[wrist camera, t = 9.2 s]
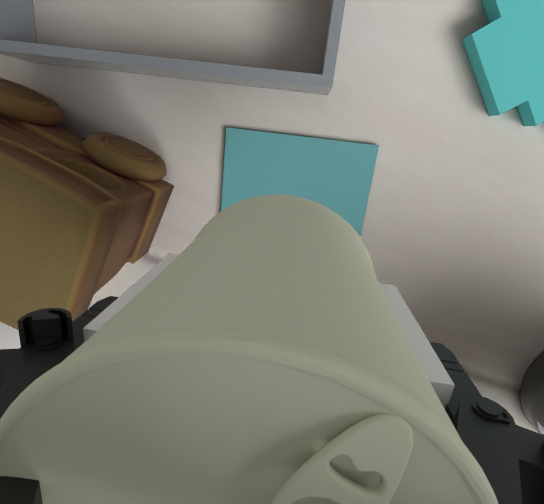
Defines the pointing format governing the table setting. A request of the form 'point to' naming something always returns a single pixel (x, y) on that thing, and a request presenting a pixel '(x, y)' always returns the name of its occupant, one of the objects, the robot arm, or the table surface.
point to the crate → (22, 44)
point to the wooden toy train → (68, 207)
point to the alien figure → (510, 58)
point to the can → (246, 383)
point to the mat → (299, 170)
